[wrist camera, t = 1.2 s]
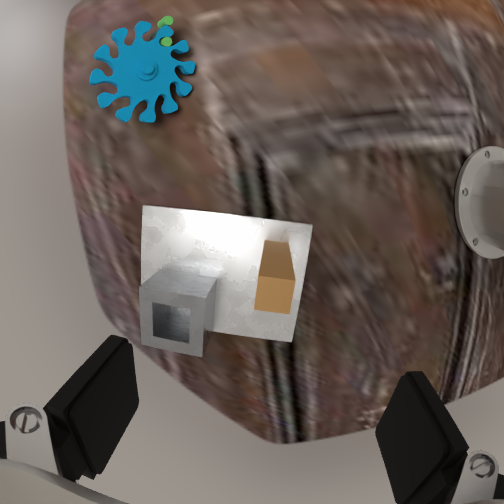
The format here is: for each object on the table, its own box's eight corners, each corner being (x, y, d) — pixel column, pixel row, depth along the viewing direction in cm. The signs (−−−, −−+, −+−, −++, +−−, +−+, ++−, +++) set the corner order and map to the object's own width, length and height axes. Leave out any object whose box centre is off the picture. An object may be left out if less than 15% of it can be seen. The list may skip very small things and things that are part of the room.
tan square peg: (288, 243, 27) (295, 280, 17) (285, 266, 27) (289, 314, 18) (264, 239, 27) (258, 275, 17) (261, 263, 28) (253, 309, 18)
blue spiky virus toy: (172, 139, 25) (71, 100, 17) (149, 138, 29) (65, 108, 22) (218, 41, 23) (133, -6, 16) (189, 53, 27) (115, 16, 20)
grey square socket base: (311, 224, 27) (320, 236, 22) (291, 338, 30) (293, 370, 25) (146, 204, 28) (117, 211, 22) (145, 314, 31) (122, 340, 25)
